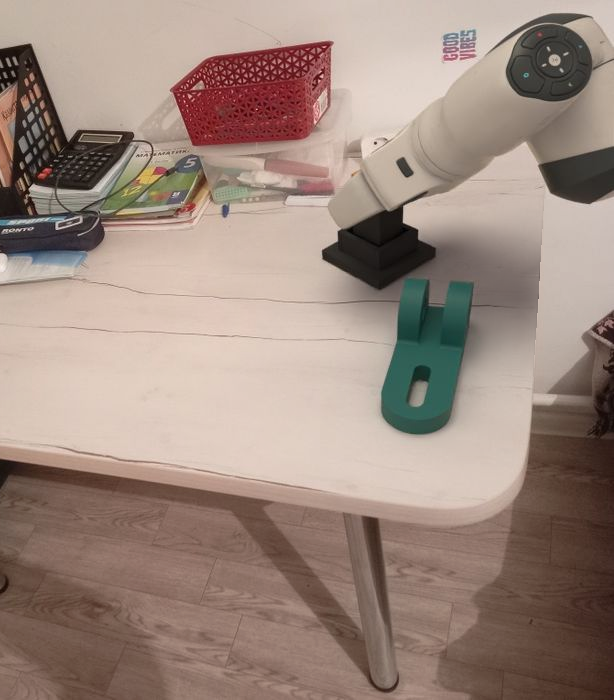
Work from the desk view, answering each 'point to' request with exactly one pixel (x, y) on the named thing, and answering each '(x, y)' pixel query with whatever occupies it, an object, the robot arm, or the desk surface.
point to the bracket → (426, 355)
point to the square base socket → (378, 256)
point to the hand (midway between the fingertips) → (374, 201)
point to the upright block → (380, 226)
